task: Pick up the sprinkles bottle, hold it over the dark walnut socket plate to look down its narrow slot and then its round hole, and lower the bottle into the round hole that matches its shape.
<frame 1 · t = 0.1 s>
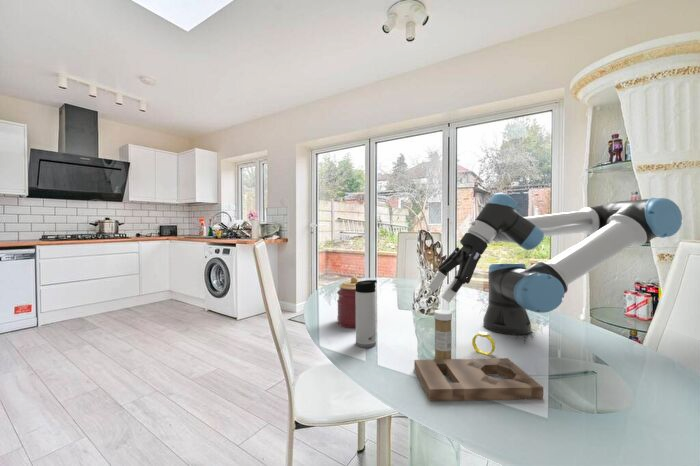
hand: (437, 294, 94), 15 cm above the table, tool tilted 35°, fingers open, 13 cm apart
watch: (483, 354, 87), on the table
sprinkles bottle: (443, 360, 83), on the table
canister: (354, 323, 115), on the table
travel mug: (366, 344, 94), on the table
socket plate: (472, 382, 71), on the table
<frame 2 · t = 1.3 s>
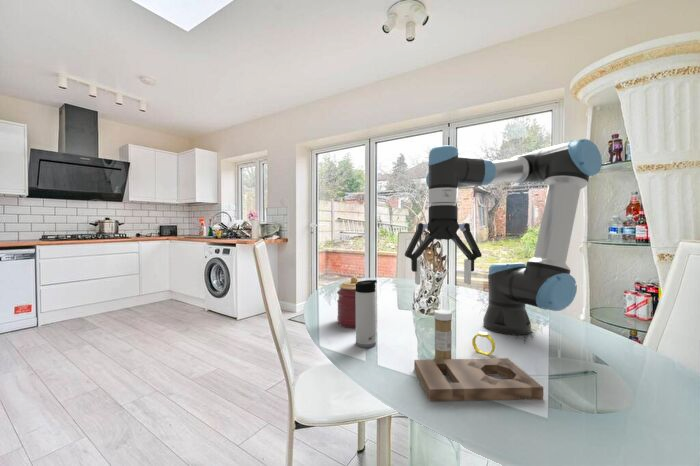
hand: (442, 283, 82), 21 cm above the table, tool pointing down, fingers open, 13 cm apart
nothing on the table moved.
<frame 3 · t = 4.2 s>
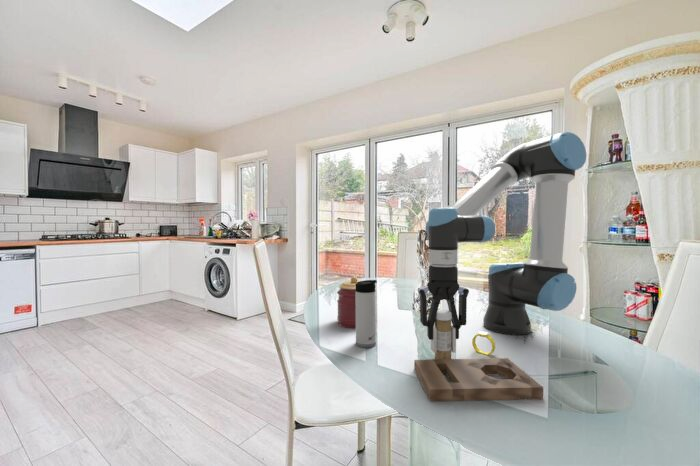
hand: (443, 350, 82), 3 cm above the table, tool pointing down, fingers closed on sprinkles bottle, 4 cm apart
sprinkles bottle: (443, 360, 83), on the table, touching gripper
everything else where it was.
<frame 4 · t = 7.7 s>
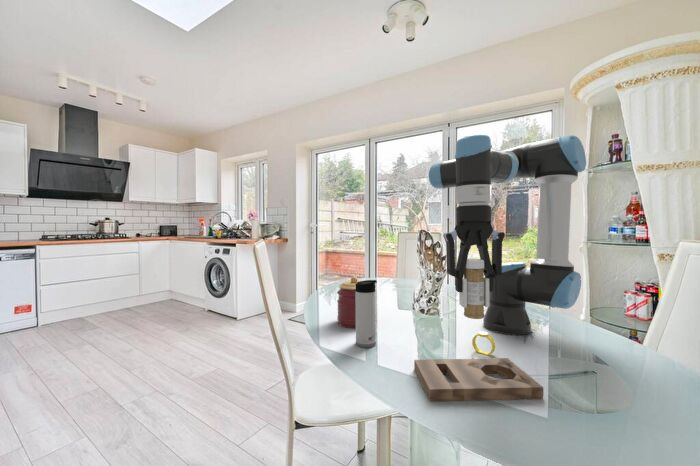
hand: (474, 305, 70), 18 cm above the table, tool pointing down, fingers closed on sprinkles bottle, 4 cm apart
sprinkles bottle: (473, 317, 71), point 15 cm above the table, touching gripper
everything else where it was.
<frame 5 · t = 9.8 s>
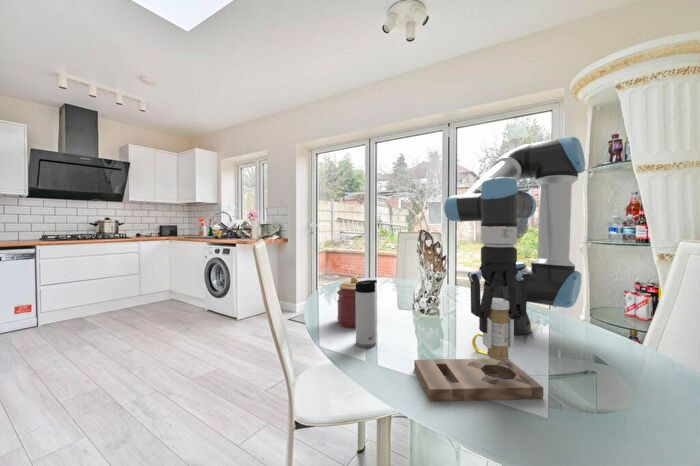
hand: (497, 345, 70), 9 cm above the table, tool pointing down, fingers closed on sprinkles bottle, 4 cm apart
sprinkles bottle: (497, 357, 70), point 6 cm above the table, touching gripper
everything else where it was.
when the fingers open (4 cm above the table, at t = 11.3 s): sprinkles bottle drops 1 cm, resting in socket plate.
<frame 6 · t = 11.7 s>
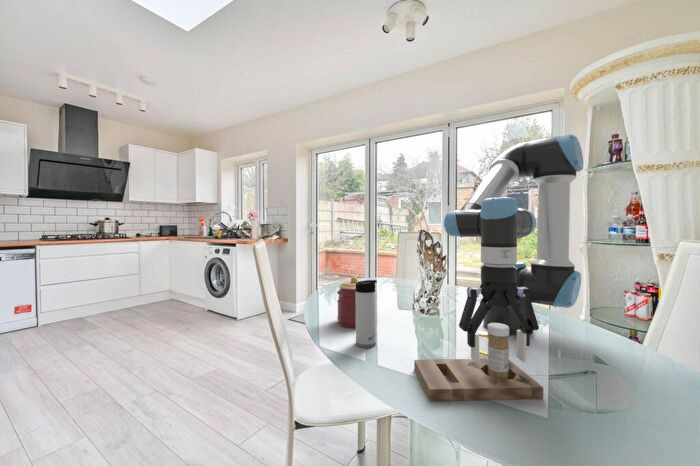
hand: (498, 359, 71), 5 cm above the table, tool pointing down, fingers open, 10 cm apart
sprinkles bottle: (498, 383, 71), resting in socket plate
everything else where it was.
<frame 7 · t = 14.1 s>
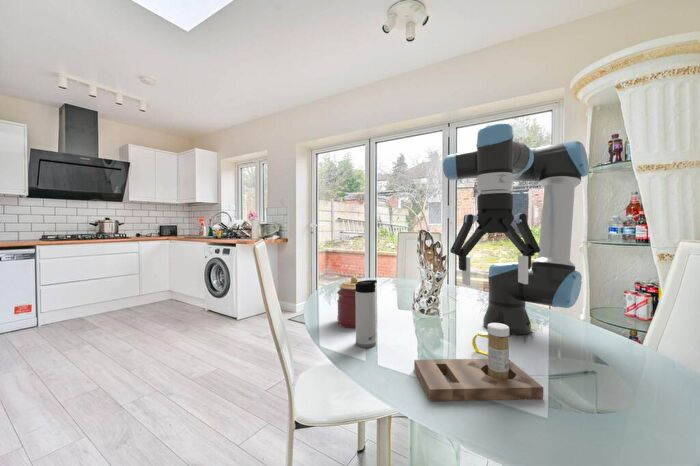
hand: (494, 283, 71), 23 cm above the table, tool pointing down, fingers open, 13 cm apart
nothing on the table moved.
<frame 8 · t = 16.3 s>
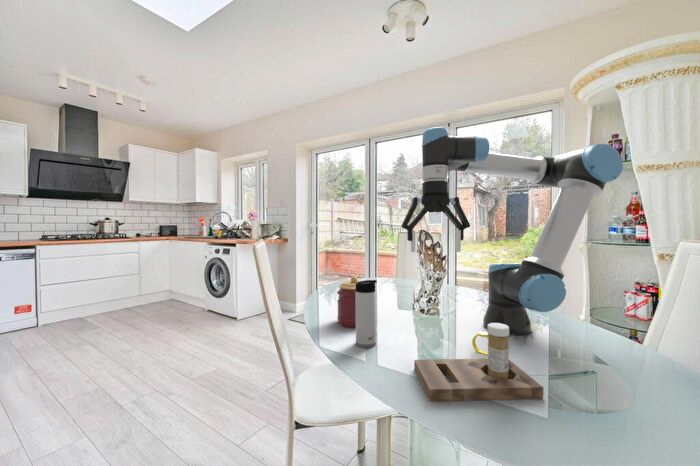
hand: (435, 251, 92), 29 cm above the table, tool pointing down, fingers open, 13 cm apart
nothing on the table moved.
at the end: sprinkles bottle 0.0 cm from the target spot on the socket plate, point 0.0 cm above the socket plate's base; sprinkles bottle tilted 0°; the gripper is holding nothing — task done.
